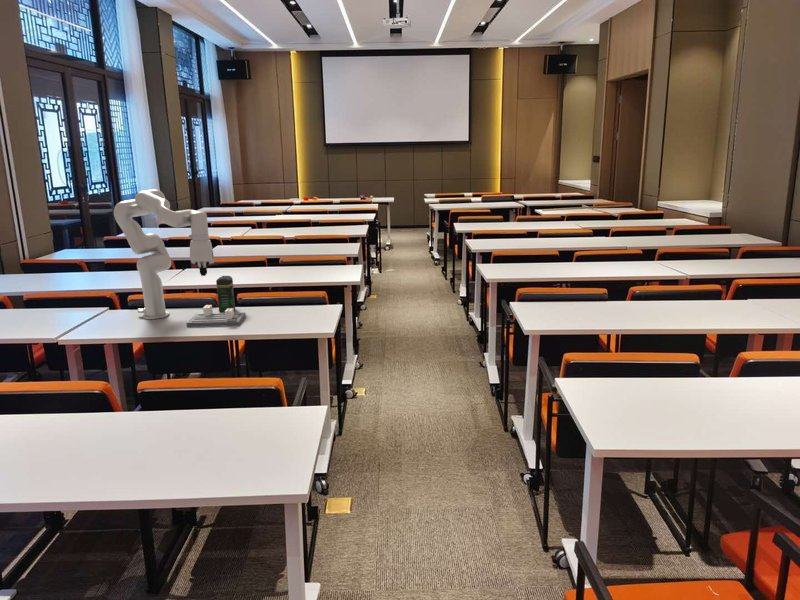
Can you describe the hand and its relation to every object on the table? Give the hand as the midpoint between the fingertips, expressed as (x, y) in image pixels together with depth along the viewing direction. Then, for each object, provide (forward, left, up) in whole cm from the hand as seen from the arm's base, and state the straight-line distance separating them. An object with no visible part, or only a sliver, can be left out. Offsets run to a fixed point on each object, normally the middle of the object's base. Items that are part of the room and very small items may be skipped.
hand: (203, 275), depth 283 cm
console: (+3, +2, -24) cm, 24 cm away
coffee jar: (+4, +20, -24) cm, 32 cm away
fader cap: (+11, -2, -21) cm, 24 cm away
